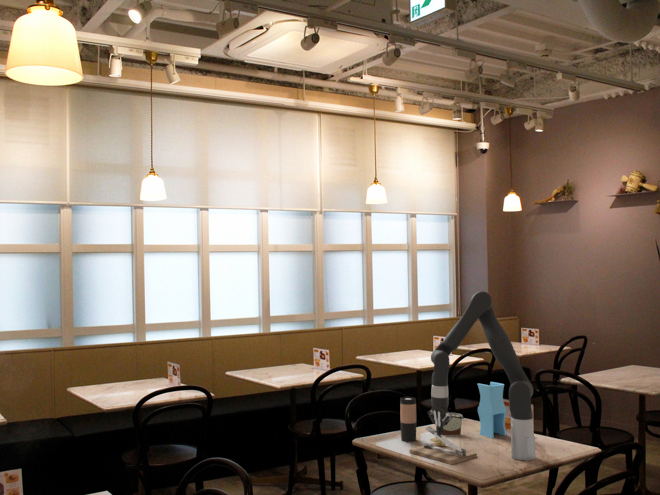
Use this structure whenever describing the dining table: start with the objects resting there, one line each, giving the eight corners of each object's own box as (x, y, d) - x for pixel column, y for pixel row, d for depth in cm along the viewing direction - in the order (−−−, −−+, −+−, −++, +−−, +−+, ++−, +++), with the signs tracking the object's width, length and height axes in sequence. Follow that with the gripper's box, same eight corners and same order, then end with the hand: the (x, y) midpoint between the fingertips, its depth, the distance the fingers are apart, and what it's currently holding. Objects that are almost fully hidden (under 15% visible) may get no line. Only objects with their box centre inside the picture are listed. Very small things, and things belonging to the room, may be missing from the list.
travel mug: (398, 440, 314) (398, 398, 315) (403, 437, 321) (403, 396, 322) (413, 442, 311) (413, 400, 311) (418, 438, 317) (418, 397, 318)
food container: (462, 432, 329) (462, 412, 329) (463, 435, 323) (463, 415, 323) (437, 432, 330) (437, 412, 331) (438, 435, 324) (438, 414, 324)
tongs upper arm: (462, 452, 282) (463, 450, 282) (458, 453, 281) (459, 451, 281) (429, 428, 297) (430, 426, 297) (425, 429, 295) (426, 427, 295)
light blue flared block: (492, 431, 331) (491, 381, 332) (507, 435, 322) (505, 384, 323) (478, 434, 326) (477, 383, 327) (492, 438, 317) (491, 386, 318)
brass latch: (446, 445, 299) (445, 436, 299) (436, 448, 294) (435, 439, 294) (440, 443, 301) (439, 435, 302) (429, 446, 297) (429, 437, 297)
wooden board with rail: (476, 456, 285) (476, 446, 286) (451, 464, 274) (451, 454, 275) (434, 446, 304) (434, 436, 304) (409, 452, 293) (409, 443, 293)
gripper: (456, 396, 289) (456, 436, 288) (434, 392, 299) (434, 430, 298) (445, 398, 284) (445, 439, 283) (423, 394, 294) (422, 432, 294)
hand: (439, 434), depth 291 cm, fingers closed
